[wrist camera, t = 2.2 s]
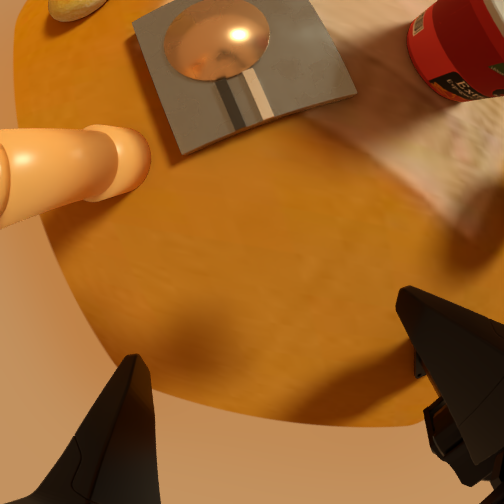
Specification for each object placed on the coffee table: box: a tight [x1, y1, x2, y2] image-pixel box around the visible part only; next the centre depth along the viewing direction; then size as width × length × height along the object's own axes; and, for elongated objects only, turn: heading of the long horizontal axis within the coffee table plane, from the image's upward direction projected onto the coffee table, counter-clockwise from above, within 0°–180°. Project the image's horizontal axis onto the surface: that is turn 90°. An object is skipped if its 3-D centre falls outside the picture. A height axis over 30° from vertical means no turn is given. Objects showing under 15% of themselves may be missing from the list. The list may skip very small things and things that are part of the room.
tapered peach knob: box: [0, 125, 151, 229], centre depth 12 cm, size 5×5×13 cm
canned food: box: [407, 0, 504, 102], centre depth 8 cm, size 8×8×11 cm
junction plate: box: [132, 0, 357, 155], centre depth 14 cm, size 12×12×2 cm
